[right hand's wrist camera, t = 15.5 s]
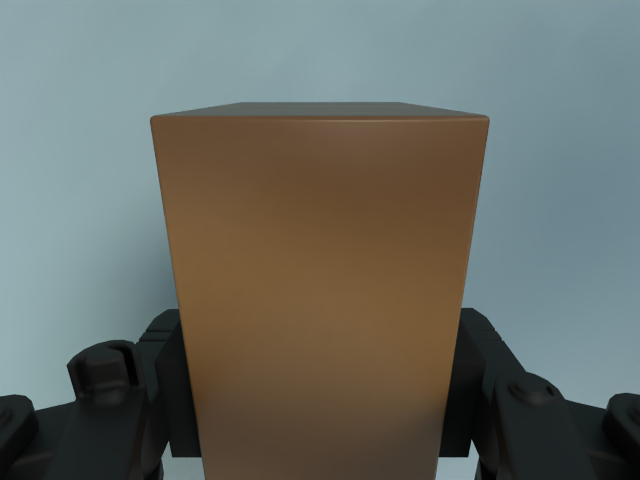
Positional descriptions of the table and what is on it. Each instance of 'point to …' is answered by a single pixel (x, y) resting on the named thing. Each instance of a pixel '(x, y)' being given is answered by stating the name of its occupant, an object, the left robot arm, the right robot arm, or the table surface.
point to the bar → (319, 280)
